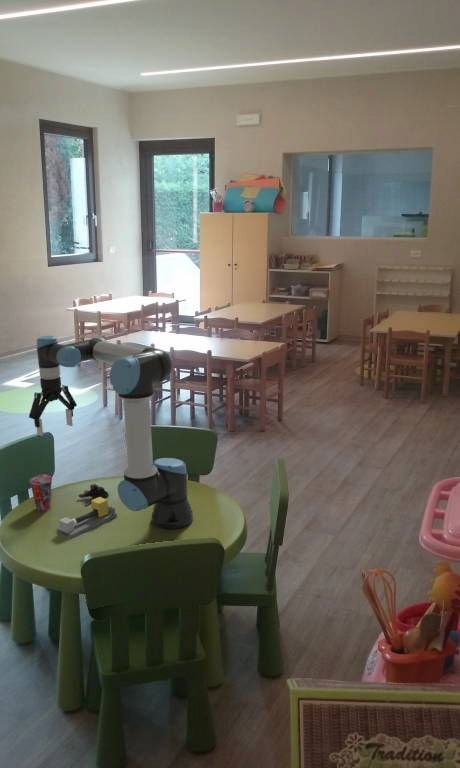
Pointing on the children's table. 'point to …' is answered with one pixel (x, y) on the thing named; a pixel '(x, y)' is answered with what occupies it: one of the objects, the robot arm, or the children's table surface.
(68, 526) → the comb rail
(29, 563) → the children's table surface
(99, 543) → the children's table surface
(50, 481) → the cup
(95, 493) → the stuffed animal
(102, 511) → the sleeve
